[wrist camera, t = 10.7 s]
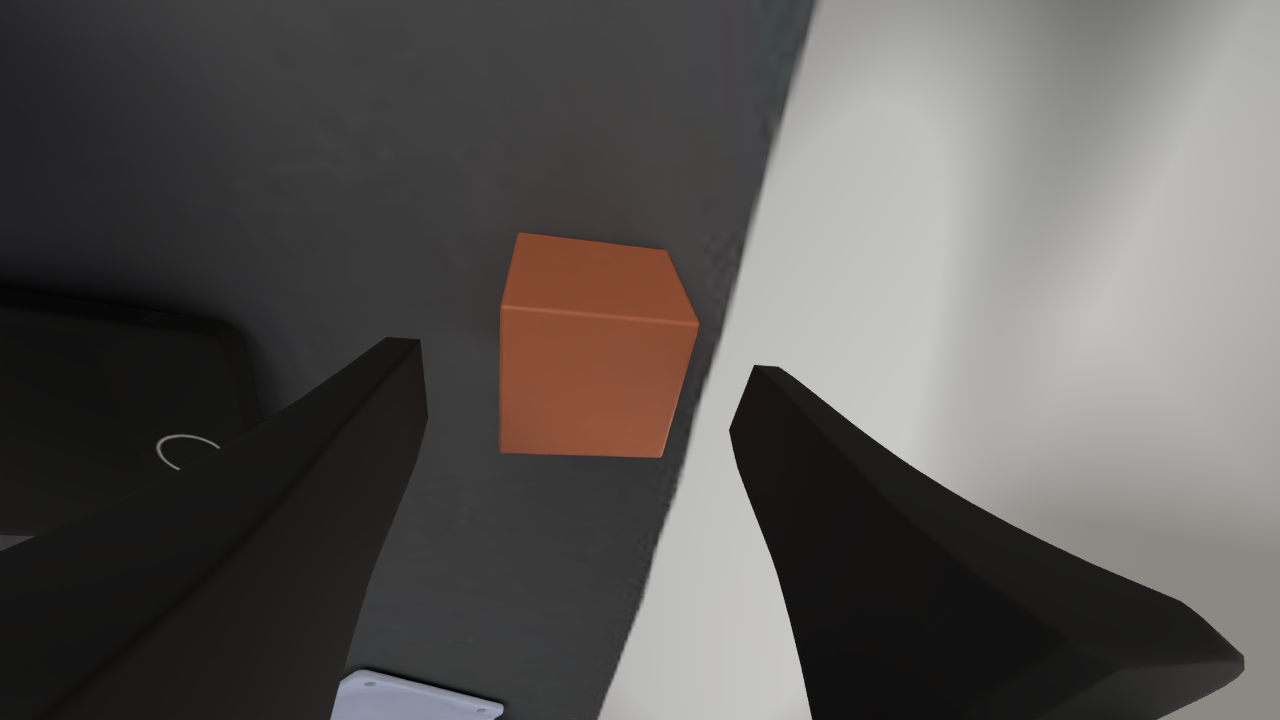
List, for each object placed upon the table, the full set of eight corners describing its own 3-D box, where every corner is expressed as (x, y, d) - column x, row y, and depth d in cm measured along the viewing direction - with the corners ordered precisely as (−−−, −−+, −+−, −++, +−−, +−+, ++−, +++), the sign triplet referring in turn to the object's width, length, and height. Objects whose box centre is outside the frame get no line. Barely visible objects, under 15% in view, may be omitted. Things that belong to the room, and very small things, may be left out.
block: (641, 366, 15) (662, 459, 12) (514, 357, 14) (498, 454, 11) (667, 249, 13) (701, 323, 10) (517, 230, 12) (499, 305, 9)
